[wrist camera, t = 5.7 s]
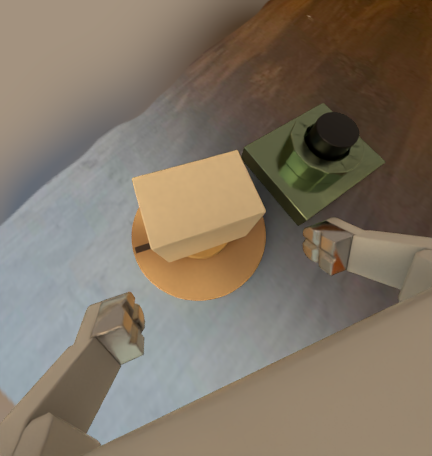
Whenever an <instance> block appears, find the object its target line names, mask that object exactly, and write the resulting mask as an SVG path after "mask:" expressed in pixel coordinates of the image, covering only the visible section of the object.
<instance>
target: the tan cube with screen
mask: <svg viewBox="0 0 432 456" xmlns="http://www.w3.org/2000/svg"><path fill="white" fill-rule="evenodd" d="M132 182H133V185H134V189H135V193H136V196H137V200H138V204H139V207H140V211H141V215H142V218H143V222H144V225H145V229H146V233H147V236H148V240H149V244H150V247H151V249H152V250H153V251H154V252H156V253H157V254H158V255H160V256H161V257H162V258H164V259H165V260H166V261H168V262H173V261H175V260H178V259H181V258H184V257H189V258H193V259H207V258H210V257H213V256H215V255H217V254H218V253H220V252H221V251H222V250H223V249H224V248H225V246H226V245H227V243H228V242H230V241H233V240H236V239H239V238H241V237H244V236H246V235H247V234H248V233H249V232H250V230H251V229H252V228H253V227H254V226H255V224H256V223H257V222H258V221H259V220H260V218H261V217H262V216H263V215H264V214H265V212H266V210H265V207H264V205H263V203H262V201H261V199H260V197H259V195H258V192H257V190H256V188H255V186H254V184H253V182H252V180H251V178H250V175H249V173H248V171H247V169H246V167H245V165H244V163H243V160H242V158H241V156H240V154H239V152H238V150H236V151H232V152H228V153H224V154H221V155H217V156H213V157H209V158H206V159H202V160H198V161H194V162H191V163H187V164H183V165H179V166H176V167H172V168H168V169H164V170H161V171H157V172H153V173H149V174H146V175H142V176H138V177H134V178H132Z"/></svg>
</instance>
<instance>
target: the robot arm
mask: <svg viewBox="0 0 432 456" xmlns="http://www.w3.org/2000/svg"><path fill="white" fill-rule="evenodd" d="M303 236H304V237H305V238H306V239H305V240H304V242H303V251H304V253H305V255H306V256H307V258H309V259H310V260H311V261H313V262H317V263H318V265H319V267H320V268H321V269H322V270H324V271H325V272H326V273H327V274H329V275H330V276H331V275H334V274H337V273H339V272H342V271H344V270H347V271H349V272H352V273H355V274H358V275H361V276H364V277H366V278H369V279H372V280H375V281H378V282H380V283H383V284H386V285H389V286H392V287H395V288H397V289H400V290H401V291H400V293H399V296H398V301H399V303H397V304H395V305H393V306H390V307H388V308H386V309H384V310H382V311H380V312H378V313H376V314H374V315H372V316H370V317H368V318H365V319H363V320H361V321H359V322H357V323H355V324H353V325H351V326H349V327H347V328H345V329H343V330H341V331H338V332H336V333H334V334H332V335H330V336H328V337H326V338H324V339H322V340H320V341H318V342H316V343H313V344H311V345H309V346H307V347H305V348H303V349H301V350H299V351H297V352H295V353H293V354H291V355H289V356H287V357H284V358H282V359H280V360H278V361H276V362H274V363H272V364H270V365H268V366H266V367H264V368H262V369H260V370H257V371H255V372H253V373H251V374H249V375H247V376H245V377H243V378H241V379H239V380H237V381H235V382H233V383H231V384H228V385H226V386H224V387H222V388H220V389H218V390H216V391H214V392H212V393H210V394H208V395H206V396H204V397H201V398H199V399H197V400H195V401H193V402H191V403H189V404H187V405H185V406H183V407H181V408H179V409H177V410H175V411H172V412H170V413H168V414H166V415H164V416H162V417H160V418H158V419H156V420H154V421H152V422H150V423H148V424H145V425H143V426H141V427H139V428H137V429H135V430H133V431H131V432H129V433H127V434H125V435H123V436H121V437H119V438H116V439H114V440H112V441H110V442H108V443H106V444H104V445H102V446H101V444H100V443H99V441H98V440H96V439H94V438H93V437H91V436H89V435H88V434H86V433H87V431H88V429H89V427H90V426H91V424H92V422H93V420H94V418H95V416H96V414H97V412H98V410H99V408H100V406H101V404H102V402H103V400H104V398H105V396H106V394H107V393H108V391H109V389H110V387H111V385H112V383H113V381H114V379H115V377H116V375H117V373H118V371H119V369H120V367H121V365H122V364H124V363H126V362H128V361H130V360H133V359H135V358H137V357H139V356H142V355H144V337H143V335H142V334H141V333H142V331H143V330H144V328H145V320H144V314H143V311H142V309H141V307H140V305H138V304H135V303H134V302H135V297H134V296H133V294H132V293H131V292H127V293H124V294H121V295H118V296H115V297H112V298H109V299H106V300H104V301H101V302H98V303H95V304H92V305H90V306H89V307H88V308H87V310H86V313H85V315H84V318H83V321H82V323H81V326H80V329H79V332H78V334H77V337H76V340H75V342H74V345H72V346H70V347H68V348H67V349H66V351H65V352H64V353H63V354H62V355H61V356H60V357H59V358H58V359H57V361H56V362H55V363H54V364H53V365H52V366H51V367H50V368H49V369H48V371H47V372H46V373H45V374H44V375H43V376H42V377H41V378H40V380H39V381H38V382H37V383H36V384H35V385H34V386H33V387H32V388H31V390H30V391H29V392H28V393H27V394H26V395H25V396H24V397H23V398H22V400H21V401H20V402H19V403H18V404H17V405H16V406H15V407H14V408H13V410H12V411H11V412H10V413H9V414H8V415H7V416H6V417H5V418H4V420H3V421H2V422H1V423H0V456H432V238H429V237H421V236H413V235H405V234H397V233H389V232H381V231H373V230H368V231H365V230H363V229H360V228H358V227H356V226H354V225H351V224H349V223H347V222H345V221H343V220H340V219H338V218H334V217H332V218H329V219H327V220H324V221H323V222H320V223H317V224H314V225H312V226H309V227H306V228H305V229H304V231H303Z"/></svg>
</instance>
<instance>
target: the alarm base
mask: <svg viewBox="0 0 432 456" xmlns="http://www.w3.org/2000/svg"><path fill="white" fill-rule="evenodd" d="M328 112H332V111H331V110H330V109H329V108H328V107H327V106H326V105H325V104H324V103H322V104H320V105H318V106H316V107H315V108H313V109H311V110H309V111H307V112H306V113H304V114H302V115H300V116H299V117H297V118H295V119H293V120H291V121H290V122H288V123H286V124H284V125H283V126H281V127H279V128H277V129H275V130H274V131H272V132H270V133H268V134H266V135H265V136H263V137H261V138H259V139H258V140H256V141H254V142H252V143H250V144H249V145H247V146H245V147H244V149H243V153H242V156H241V158H242V160H243V161H244V162H245V164H246V165H247V166H248V167H249V168H250V170H251V171H252V172H253V173H254V174H255V175H256V177H257V178H258V179H259V180H260V181H261V183H262V184H263V185H264V186H265V187H266V189H267V190H268V191H269V192H270V193H271V194H272V196H273V197H274V198H275V199H276V200H277V202H278V203H279V204H280V205H281V206H282V208H283V209H284V210H285V211H286V212H287V213H288V215H289V216H290V217H291V218H292V219H293V221H294V222H295V223H296V224H297V225H298V226H299V225H301V224H302V223H304V222H306V221H307V220H308V219H310V218H311V217H313V216H314V215H315V214H317V213H318V212H319V211H321V210H322V209H323V208H325V207H326V206H327V205H329V204H330V203H331V202H333V201H334V200H335V199H337V198H338V197H340V196H341V195H342V194H344V193H345V192H346V191H348V190H349V189H350V188H352V187H353V186H354V185H356V184H357V183H358V182H360V181H361V180H362V179H364V178H365V177H367V176H368V175H369V174H371V173H372V172H373V171H375V170H376V169H377V168H379V167H380V166H381V165H383V164H384V163H385V161H384V160H383V159H382V158H381V157H380V156H379V155H378V154H377V153H376V152H375V151H374V150H373V149H371V148H370V147H369V146H368V145H367V144H366V143H365V142H364V141H363V140H362V139H361V138H360V135H359V138H358V140H357V142H356V143H355V144H354V145H353V146H352V147H351V148H350V149H349V150H348V151H347V152H346V153H345V154H344V155H342V156H341V157H340V158H338V159H336V160H331V161H328V160H323V159H321V158H319V157H316V156H315V155H314V154H313V153H312V152H311V151H310V150H309V149H308V147H307V144H306V137H307V134H308V133H309V131H310V130H311V128H312V127H313V125H314V124H315V122H316V121H317V119H318V118H319V117H320V116H321V115H323V114H325V113H328Z"/></svg>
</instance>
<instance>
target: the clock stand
mask: <svg viewBox="0 0 432 456" xmlns="http://www.w3.org/2000/svg"><path fill="white" fill-rule="evenodd" d="M265 243H266V230H265V223H264V219H263V216H262V217H261V218H260V220H259V221H258V222H257V223H256V224H255V226H254V227H253V228H252V229H251V230H250V232H249V233H248V234H247V235H246V236H244V237H241V238H239V239H236V240H233V241H230V242H228V243H227V245H226V246H225V248H224V249H223V250H222V251H221V252H220V253H218V254H217V255H215V256H213V257H210V258H207V259H193V258H189V257H184V258H181V259H178V260H175V261H173V262H168V261H166V260H165V259H164V258H162V257H161V256H160V255H158V254H157V253H156V252H154V251H153V250H152V249H151V247H150V244H149V240H148V236H147V233H146V229H145V225H144V222H143V218H142V215H141V211H140V207H139V208H138V211H137V213H136V215H135V218H134V222H133V227H132V246H133V252H134V255H135V258H136V261H137V263H138V265H139V267H140V269H141V270H142V272H143V273H144V274H145V276H146V277H147V278H148V279H149V280H150V281H151V282H152V283H153V284H154V285H155V286H157V287H158V288H159V289H161V290H162V291H164V292H166V293H167V294H170V295H172V296H175V297H178V298H182V299H185V300H194V301H201V300H210V299H216V298H219V297H222V296H225V295H227V294H229V293H231V292H233V291H234V290H236V289H237V288H239V287H240V286H242V285H243V284H244V283H245V282H246V281H247V280H248V279H249V278H250V277H251V276H252V274H253V273H254V272H255V270H256V269H257V267H258V265H259V263H260V261H261V259H262V256H263V253H264V249H265Z"/></svg>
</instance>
